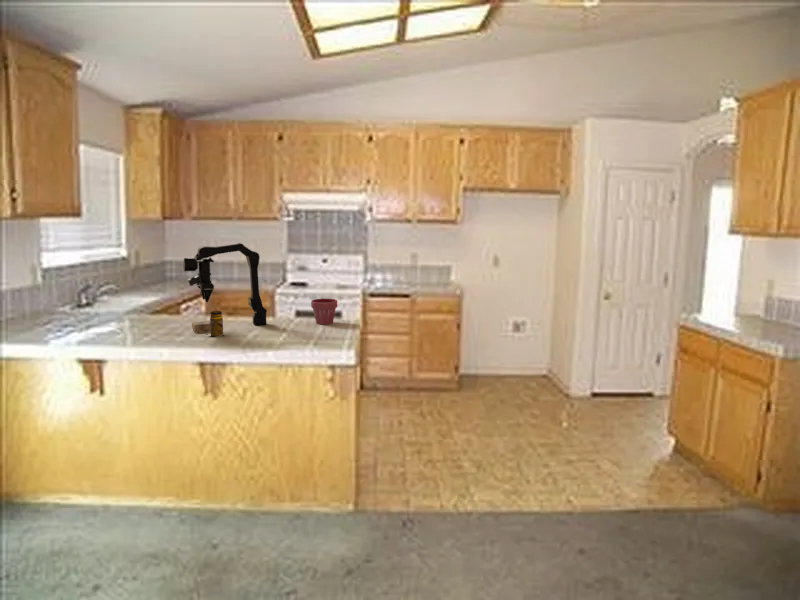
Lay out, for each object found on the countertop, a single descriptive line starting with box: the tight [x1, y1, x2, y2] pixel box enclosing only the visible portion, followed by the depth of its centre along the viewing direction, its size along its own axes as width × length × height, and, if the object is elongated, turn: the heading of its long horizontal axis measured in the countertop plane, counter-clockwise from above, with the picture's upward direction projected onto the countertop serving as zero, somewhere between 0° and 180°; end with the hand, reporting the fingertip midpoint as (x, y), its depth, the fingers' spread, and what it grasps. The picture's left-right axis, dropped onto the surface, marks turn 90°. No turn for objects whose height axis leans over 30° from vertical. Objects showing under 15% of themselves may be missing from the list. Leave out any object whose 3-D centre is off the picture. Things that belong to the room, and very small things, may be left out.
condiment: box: [204, 310, 224, 337], centre depth 322 cm, size 7×8×12 cm
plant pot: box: [310, 298, 338, 326], centre depth 357 cm, size 14×14×13 cm
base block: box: [191, 320, 211, 333], centre depth 334 cm, size 9×9×4 cm
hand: (205, 300), depth 338 cm, fingers open, 9 cm apart
